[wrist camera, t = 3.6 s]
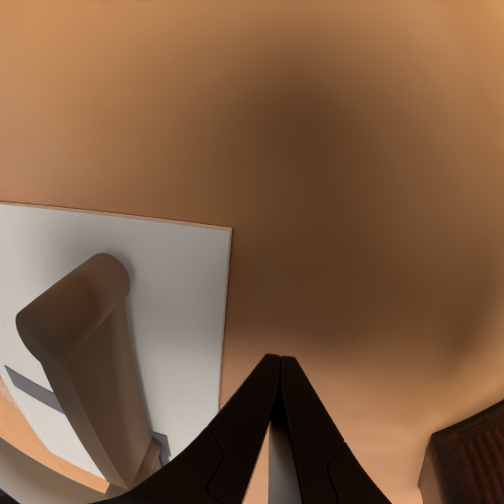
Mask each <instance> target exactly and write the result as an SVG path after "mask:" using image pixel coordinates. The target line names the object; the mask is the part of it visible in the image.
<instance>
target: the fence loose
mask: <svg viewBox="0 0 504 504" xmlns="http://www.w3.org/2000/svg"><path fill="white" fill-rule="evenodd" d="M129 290H130V278H129V275H128V272H127V270H126V269H125V267H124V266H123V264H122V263H121V262H120V261H119V260H118V259H117V258H115V257H114V256H112V255H110V254H107V253H98V254H95V255H94V256H92V257H91V258H89V259H88V260H87V261H85V262H84V263H82V264H81V265H80V266H78V267H77V268H75V269H74V270H73V271H71V272H70V273H69V274H67V275H66V276H64V277H63V278H62V279H60V280H59V281H58V282H56V283H55V284H54V285H52V286H51V287H50V288H48V289H47V290H46V291H45V292H43V293H42V294H41V295H39V296H38V297H37V298H36V299H34V300H33V301H32V302H31V303H29V304H28V305H27V306H26V307H24V308H23V309H22V310H21V311H19V312H18V313H17V315H16V318H15V323H16V328H17V331H18V334H19V336H20V338H21V340H22V342H23V344H24V345H25V347H26V348H27V349H28V351H29V352H30V353H31V354H32V355H33V356H34V357H35V358H36V359H37V360H38V361H39V362H40V363H41V365H42V368H43V370H44V372H45V375H46V377H47V379H48V381H49V384H50V386H51V388H52V390H53V392H54V394H55V396H56V398H57V400H58V402H59V404H60V406H61V408H62V410H63V412H64V414H65V416H66V417H67V419H68V421H69V423H70V425H71V426H72V428H73V430H74V432H75V433H76V435H77V437H78V438H79V440H80V442H81V443H82V445H83V447H84V448H85V450H86V451H87V453H88V454H89V456H90V457H91V459H92V460H93V462H94V463H95V465H96V466H97V468H98V469H99V471H100V472H101V473H102V475H103V476H104V477H105V479H106V480H107V482H110V483H112V484H114V485H117V486H119V487H122V488H124V489H127V490H130V488H131V486H132V484H133V481H134V479H135V477H136V474H137V472H138V470H139V467H140V465H141V463H142V460H143V458H144V456H145V453H146V451H147V449H148V446H149V444H150V442H151V440H152V437H151V433H150V429H149V426H148V422H147V418H146V414H145V410H144V406H143V402H142V398H141V393H140V389H139V384H138V379H137V375H136V370H135V364H134V359H133V353H132V348H131V342H130V336H129V329H128V322H127V315H126V307H125V299H124V298H125V297H126V296H127V295H128V293H129Z"/></svg>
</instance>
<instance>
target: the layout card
mask: <svg viewBox="0 0 504 504" xmlns="http://www.w3.org/2000/svg"><path fill="white" fill-rule="evenodd" d="M231 237H232V228H230V227H222V226H215V225H207V224H200V223H192V222H184V221H176V220H168V219H160V218H152V217H144V216H135V215H127V214H118V213H109V212H100V211H91V210H82V209H73V208H63V207H53V206H43V205H33V204H22V203H11V202H0V375H1V377H2V379H3V381H4V383H5V384H6V386H7V388H8V390H9V392H10V393H11V395H12V397H13V398H14V400H15V402H16V403H17V405H18V407H19V408H20V410H21V412H22V413H23V415H24V416H25V418H26V419H27V421H28V422H29V424H30V425H31V427H32V428H33V430H34V431H35V432H36V434H37V435H38V437H39V438H40V439H41V441H42V442H43V444H44V445H45V446H46V447H47V449H48V450H49V451H50V452H52V453H54V454H55V455H57V456H59V457H61V458H62V459H64V460H66V461H68V462H70V463H72V464H74V465H76V466H78V467H80V468H82V469H84V470H86V471H88V472H90V473H92V474H94V475H96V476H98V477H101V478H103V479H105V477H104V476H103V475H102V473H101V472H100V471H99V469H98V468H97V466H96V465H95V463H94V462H93V460H92V459H91V457H90V456H89V454H88V453H87V451H86V450H85V448H84V447H83V445H82V443H81V442H80V440H79V438H78V437H77V435H76V433H75V432H74V430H73V428H72V426H71V425H70V423H69V421H68V419H67V417H66V416H65V414H64V412H63V410H62V408H61V406H60V404H59V402H58V400H57V398H56V396H55V394H54V392H53V390H52V388H51V386H50V384H49V381H48V379H47V377H46V375H45V372H44V370H43V368H42V365H41V363H40V362H39V361H38V360H37V359H36V358H35V357H34V356H33V355H32V354H31V353H30V352H29V351H28V349H27V348H26V347H25V345H24V344H23V342H22V340H21V338H20V336H19V334H18V331H17V328H16V323H15V318H16V315H17V313H18V312H19V311H21V310H22V309H23V308H24V307H26V306H27V305H28V304H29V303H31V302H32V301H33V300H34V299H36V298H37V297H38V296H39V295H41V294H42V293H43V292H45V291H46V290H47V289H48V288H50V287H51V286H52V285H54V284H55V283H56V282H58V281H59V280H60V279H62V278H63V277H64V276H66V275H67V274H69V273H70V272H71V271H73V270H74V269H75V268H77V267H78V266H80V265H81V264H82V263H84V262H85V261H87V260H88V259H89V258H91V257H92V256H94V255H95V254H98V253H107V254H110V255H112V256H114V257H115V258H117V259H118V260H119V261H120V262H121V263H122V264H123V266H124V267H125V269H126V270H127V272H128V275H129V278H130V290H129V293H128V295H127V296H126V297H125V298H124V299H125V307H126V315H127V322H128V329H129V336H130V342H131V348H132V353H133V359H134V364H135V370H136V375H137V379H138V384H139V389H140V393H141V398H142V402H143V406H144V410H145V414H146V418H147V422H148V426H149V429H150V433H151V436H152V437H154V438H156V439H157V440H158V441H159V442H160V443H161V444H162V449H161V451H160V454H159V456H158V457H159V460H160V464H161V467H163V466H164V465H166V464H167V463H168V462H170V461H171V460H172V459H173V458H175V457H176V456H177V455H178V454H179V453H180V452H182V451H183V450H184V449H185V448H186V447H187V446H188V445H189V444H190V443H191V442H192V441H193V440H194V439H195V438H196V437H197V436H198V435H199V434H200V433H201V431H202V430H203V429H204V428H205V427H207V425H208V424H209V423H210V421H211V420H212V419H213V418H214V417H215V416H216V414H217V413H218V412H219V401H220V384H221V368H222V352H223V338H224V324H225V310H226V297H227V284H228V272H229V260H230V248H231ZM105 480H106V479H105Z"/></svg>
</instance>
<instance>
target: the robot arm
mask: <svg viewBox="0 0 504 504" xmlns="http://www.w3.org/2000/svg"><path fill="white" fill-rule="evenodd" d="M268 425H269V490H268V504H392V503H391V502H390V501H389V500H388V498H387V497H386V496H385V495H384V494H383V493H382V491H381V490H380V489H379V488H378V487H377V485H376V484H375V483H374V482H373V481H372V479H371V478H370V477H369V476H368V474H367V473H366V472H365V470H364V469H363V468H362V467H361V465H360V464H359V462H358V461H357V459H356V458H355V456H354V455H353V453H352V452H351V450H350V448H349V447H348V445H347V443H346V442H344V438H343V437H342V435H341V434H340V432H339V430H338V429H337V427H336V425H335V424H334V422H333V420H332V419H331V417H330V415H329V414H328V412H327V410H326V409H325V407H324V405H323V404H322V402H321V400H320V398H319V397H318V395H317V393H316V392H315V390H314V388H313V387H312V385H311V383H310V382H309V380H308V378H307V377H306V375H305V373H304V371H303V370H302V368H301V366H300V365H299V363H298V361H297V360H296V358H295V357H291V356H284V355H283V356H281V357H280V356H279V355H276V354H269V353H267V354H265V355H264V357H263V358H262V359H261V361H260V362H259V363H258V364H257V366H256V367H255V368H254V369H253V371H252V372H251V373H250V375H249V376H248V377H247V378H246V380H245V381H244V382H243V383H242V384H241V386H240V387H239V388H238V389H237V391H236V392H235V393H234V394H233V395H232V397H231V398H230V399H229V400H228V401H227V403H226V404H225V405H224V406H223V407H222V409H221V410H220V411H219V412H218V413H217V414H216V416H215V417H214V418H213V419H212V420H211V421H210V423H209V424H208V425H207V427H205V428H204V429H203V430H202V431H201V433H200V434H199V435H198V436H197V437H196V438H195V439H194V440H193V441H192V442H191V443H190V444H189V445H188V446H187V447H186V448H185V449H184V450H183V451H182V452H180V453H179V454H178V455H177V456H176V457H175V458H173V459H172V460H171V461H170V462H168V463H167V464H166V465H164V466H163V467H162V468H161V469H159V470H158V471H157V472H155V473H154V474H153V475H151V476H150V477H148V478H147V479H146V480H144V481H143V482H142V483H140V484H139V485H137V486H136V487H134V488H133V489H131V490H129V491H128V492H126V493H124V494H121V495H119V496H117V497H114V498H110V499H106V500H102V501H98V502H94V503H89V504H243V503H244V500H245V497H246V494H247V491H248V488H249V485H250V482H251V479H252V476H253V473H254V470H255V467H256V464H257V461H258V458H259V455H260V452H261V449H262V445H263V442H264V439H265V436H266V432H267V429H268ZM0 504H20V503H19V502H17V501H16V500H15V499H13V498H12V497H11V496H10V495H8V494H7V493H6V492H5V491H3V490H2V489H1V488H0Z"/></svg>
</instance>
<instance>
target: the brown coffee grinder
mask: <svg viewBox="0 0 504 504" xmlns="http://www.w3.org/2000/svg"><path fill="white" fill-rule="evenodd" d="M418 487H419V489H420V491H421V495H422V500H423V504H504V400H502V401H500V402H498V403H497V404H495V405H493V406H491V407H489V408H487V409H485V410H484V411H482V412H480V413H478V414H476V415H474V416H472V417H470V418H468V419H466V420H464V421H462V422H460V423H458V424H456V425H454V426H451V427H449V428H447V429H445V430H442V431H440V432H438V433H435V434H433V435H432V437H431V439H430V442H429V445H428V447H427V450H426V454H425V458H424V462H423V466H422V470H421V474H420V478H419V482H418Z"/></svg>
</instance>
